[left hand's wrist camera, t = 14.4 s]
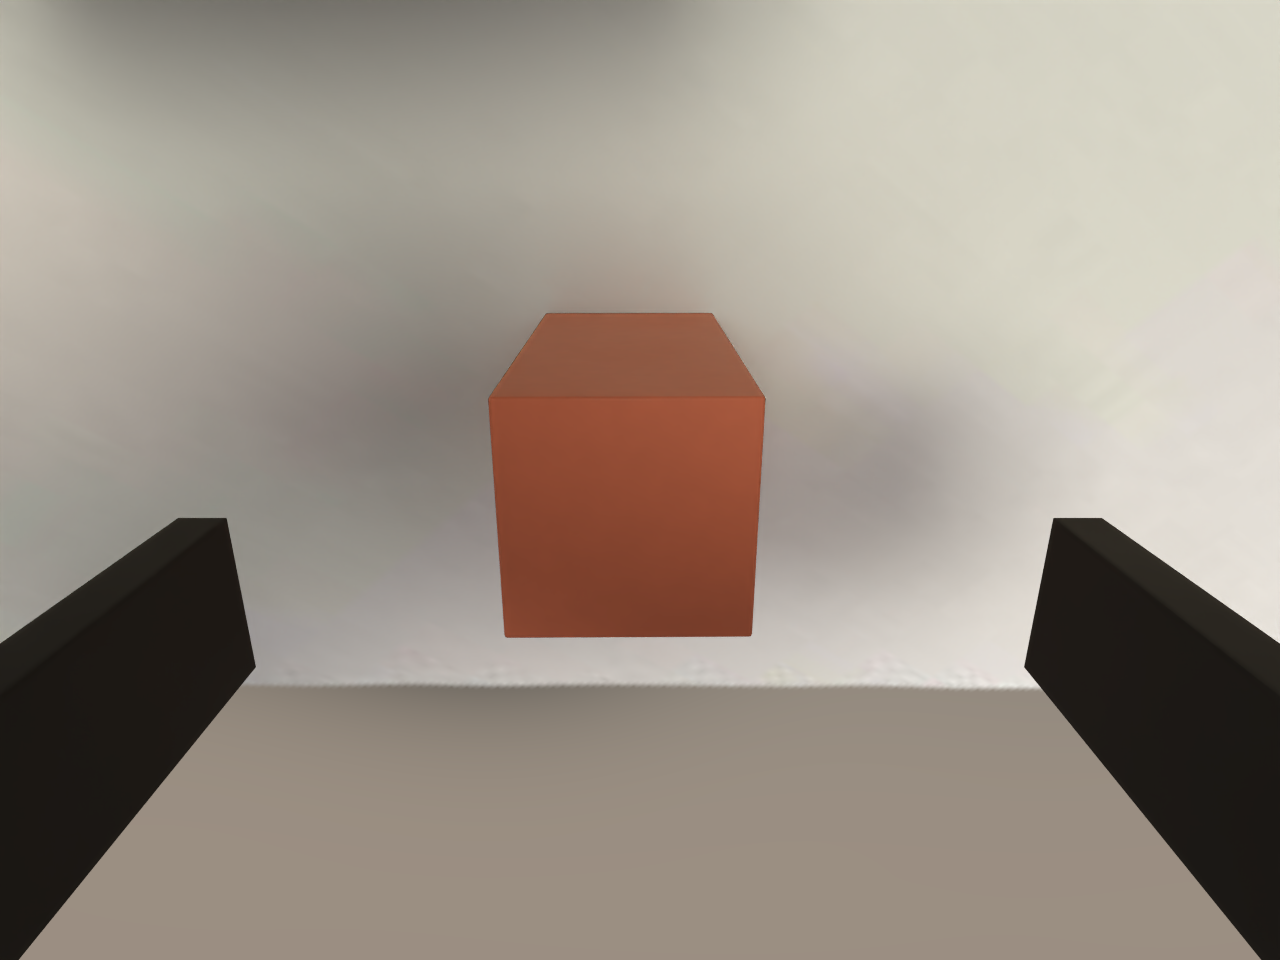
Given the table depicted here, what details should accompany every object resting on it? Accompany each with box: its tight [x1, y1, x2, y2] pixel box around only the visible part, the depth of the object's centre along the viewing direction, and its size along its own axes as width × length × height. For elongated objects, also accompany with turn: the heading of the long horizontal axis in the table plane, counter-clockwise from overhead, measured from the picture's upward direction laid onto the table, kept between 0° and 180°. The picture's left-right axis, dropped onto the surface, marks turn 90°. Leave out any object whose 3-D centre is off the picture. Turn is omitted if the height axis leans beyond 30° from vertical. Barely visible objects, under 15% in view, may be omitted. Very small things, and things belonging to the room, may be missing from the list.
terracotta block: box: [488, 313, 765, 638], centre depth 20 cm, size 5×5×10 cm
